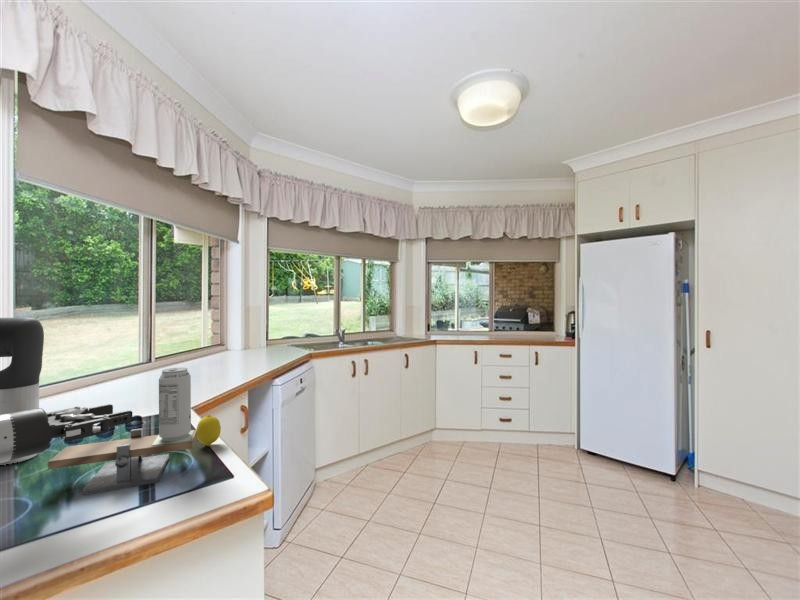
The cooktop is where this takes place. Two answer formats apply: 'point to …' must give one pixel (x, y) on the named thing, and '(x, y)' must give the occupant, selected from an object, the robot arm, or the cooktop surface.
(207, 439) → the lemon
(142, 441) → the beam
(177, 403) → the energy drink can
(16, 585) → the cooktop surface
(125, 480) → the beam stand
